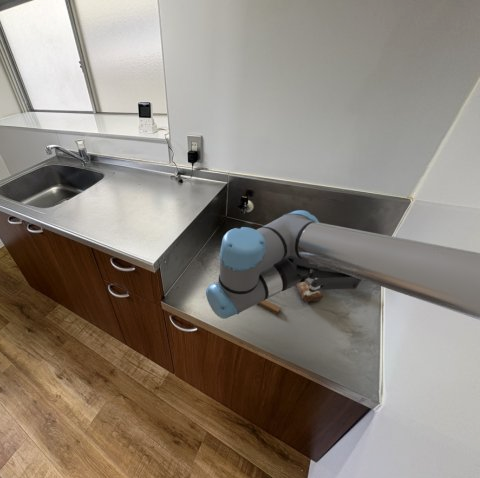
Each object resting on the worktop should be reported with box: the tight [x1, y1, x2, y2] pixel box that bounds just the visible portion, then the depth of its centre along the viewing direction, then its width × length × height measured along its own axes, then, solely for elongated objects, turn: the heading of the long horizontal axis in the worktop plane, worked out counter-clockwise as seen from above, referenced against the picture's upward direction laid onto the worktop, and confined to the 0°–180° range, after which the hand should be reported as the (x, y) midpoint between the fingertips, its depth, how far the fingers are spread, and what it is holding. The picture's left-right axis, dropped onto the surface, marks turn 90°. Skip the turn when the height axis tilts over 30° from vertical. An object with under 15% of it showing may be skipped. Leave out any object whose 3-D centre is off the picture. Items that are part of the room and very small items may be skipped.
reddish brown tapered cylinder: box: [295, 282, 324, 303], centre depth 89 cm, size 6×19×6 cm, turn 177°
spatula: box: [257, 299, 281, 315], centre depth 88 cm, size 18×5×1 cm, turn 49°
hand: (340, 244), depth 61 cm, fingers open, 13 cm apart
